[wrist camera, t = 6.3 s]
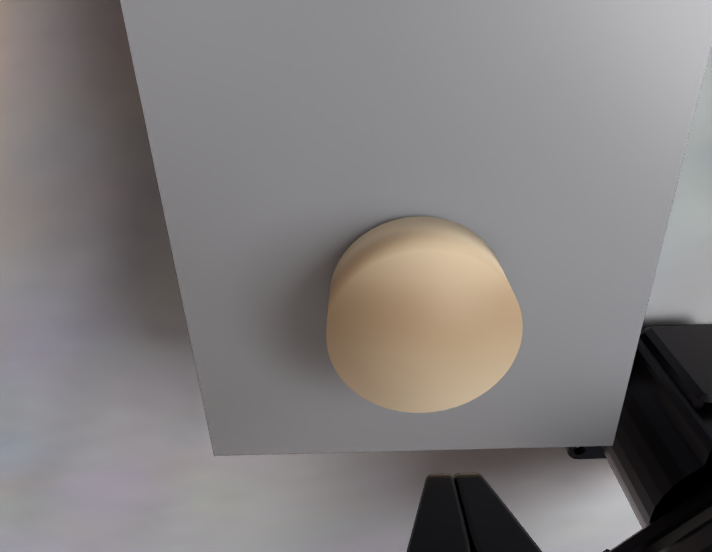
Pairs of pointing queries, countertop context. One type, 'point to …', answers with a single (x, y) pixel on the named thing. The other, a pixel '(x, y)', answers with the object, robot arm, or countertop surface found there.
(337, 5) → the housing
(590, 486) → the countertop surface
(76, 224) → the countertop surface
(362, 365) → the cap
